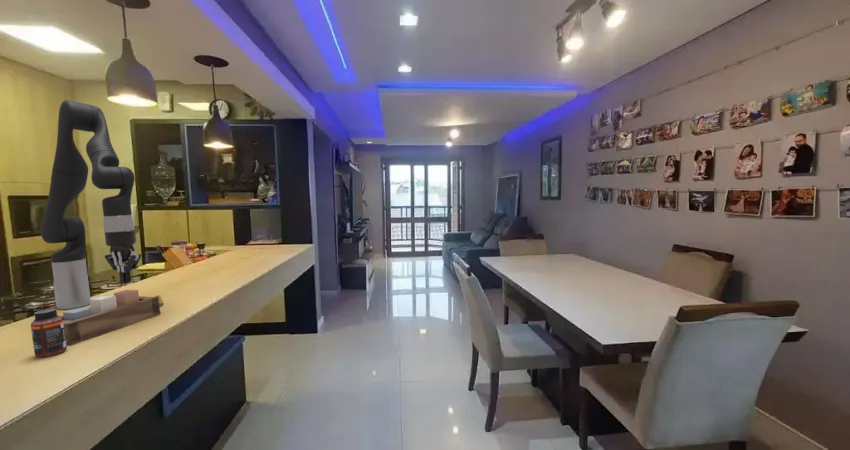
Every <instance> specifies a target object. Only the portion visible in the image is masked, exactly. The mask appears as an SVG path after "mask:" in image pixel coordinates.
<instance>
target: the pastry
mask: <svg viewBox="0 0 850 450" xmlns="http://www.w3.org/2000/svg"><path fill="white" fill-rule="evenodd" d="M154 297H159V307H160V308H161V307H164V304H165V303H164V300H163V298H162V296H161V295H155V296H154Z"/></svg>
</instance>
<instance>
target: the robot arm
mask: <svg viewBox="0 0 850 450" xmlns="http://www.w3.org/2000/svg"><path fill="white" fill-rule="evenodd" d="M57 121H58V122H57V137H56V138H57V140H56V146H55V153H54V154H55V155H54V160H53V164H52V170H51V175H50V176H51V177H50V185H49V192H48V197H47V203H46V205H45V210H44V212H43V213H44V214H43V217H42V219H41V222H40V223H41V224H40V236H41V239H42V240H43V241H44V242H45V243H47V244H61V243H65V246H64V247H62V248H61V249H60V250H58V251H56V252H53V253H52V254H51V255H50V261H51V268H52V276H53V283H52V284H53V292H54V300H55V309H56V310H57V309H58V310H73V309H77V308H83V307H85V306H88V305H90V299H91V294H90V293H91V292H90V284H89V277H88V276H89V275H88V268H87V262H86V261H87V259H86V253H87V241H86V227H85V224H84V222H83V220H82V219H81V217H79V216H65V213H66V211H67V209H68V207H69V206H70V204H71V203H72V202H73V201H74V200H75V199H76V198H77V197H78V196H79V195H80V194H81V193H82V192H83V191H84V190H85V188H86V186H87V182H88V176H89V167H88V163H87V162H86V160H85V159H84V157H83V155H82V154H81V152H80V151H79V149H78V147H77V146H76V142H75V141H74V140H75V139H74V130H75V131H76V130H77V131H81V132H87V133H93V134H94V135H93V136H92V137H91V138H90V139H89V140H88V141H87V142H86V147H85V150H86V155H87V157H88V159H89V161H90V162H91V167H92V168H91V179H90V180H91V182H92V185H93V186H94V187H95V188H97V189H100V190H119V192H118V194H117V195H113V196H108V197H105V198H103V199H102V200H101V205H102V206H101V207H102V214H103V229H104V231H103V232H104V238H105V245H106V246H107V247H109V252H108V254H106V255H104V259H105V260H106V262H107V264H109V266H110V267H111V268H112V270H113V271H117V272H118V275H119V282H120V284H123V285H125V284H126V285H127V284H131V282H132V275H131V272H132V270H136V268H137V266H138V264H139V262H140V259H141V258H142V255H141V254H140V253H136V252H135V250H136V249H135V247H134V244H136V243H137V239H136V232H135V222H134V218H133V214H132V204H131V200H132V199H131V198H132V192H133V189H134V188H133V187H134V184H135V178H136V177H135V174H134V172H133V170H132V169H131V168H130V167H127V166H120V159H119V157H118V155H117V153H116V150H115V149H114V147H113V144H112V143H111V137H110V134H109V133H110V131H109V130H108V125H107V121H106V118H105V114H104V112H103V110H102V109H101V108H100V107H98V106H95V105H92V104H88V103H83V102H78V101H74V100H69V99H65V100H63V101H62V102H61V104H60V106H59V111H58V119H57Z"/></svg>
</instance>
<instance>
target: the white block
mask: <svg viewBox="0 0 850 450" xmlns="http://www.w3.org/2000/svg"><path fill="white" fill-rule="evenodd" d="M90 307H91V310H92V315H94V314H97V313H100V312H104V311H107V310H111V309H114V308H117V303H116V296H114V295H101V296H98V297H97V296H96V297H93V298H90V304H89V308H90Z"/></svg>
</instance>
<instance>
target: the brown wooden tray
mask: <svg viewBox="0 0 850 450" xmlns="http://www.w3.org/2000/svg"><path fill="white" fill-rule="evenodd" d="M89 308H91V307H90V306H89ZM160 308H161V307H159V297H155V296H143V295H141V296H140V295H139V301H138V302H134V303H131V304H128V305H124V306H121V307H117V308H114V309H111V310H107V311H104V312H100V313H97V314H94V315H90V316H87V317H83V318H80V319H77V320H73V321H68V320H64V316H63V314H61V315H60V316H61V317H62V318H63V323H64V331H65V338H66V345H67V346H72V345H76V344H79V343H82V342H84V341H87V340H90V339H93V338H96V337H99V336H101V335H104V334H108V333H110V332H113V331H117V330H120V329H122V328H126V327H128V326H132V325H134V324H136V323H139V322H142V321H145V320H149V319H152V318H154V317H156V316H159V315H161V309H160ZM81 341H82V342H81ZM78 342H79V343H78Z"/></svg>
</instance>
